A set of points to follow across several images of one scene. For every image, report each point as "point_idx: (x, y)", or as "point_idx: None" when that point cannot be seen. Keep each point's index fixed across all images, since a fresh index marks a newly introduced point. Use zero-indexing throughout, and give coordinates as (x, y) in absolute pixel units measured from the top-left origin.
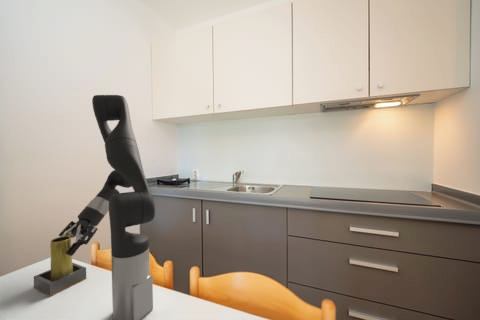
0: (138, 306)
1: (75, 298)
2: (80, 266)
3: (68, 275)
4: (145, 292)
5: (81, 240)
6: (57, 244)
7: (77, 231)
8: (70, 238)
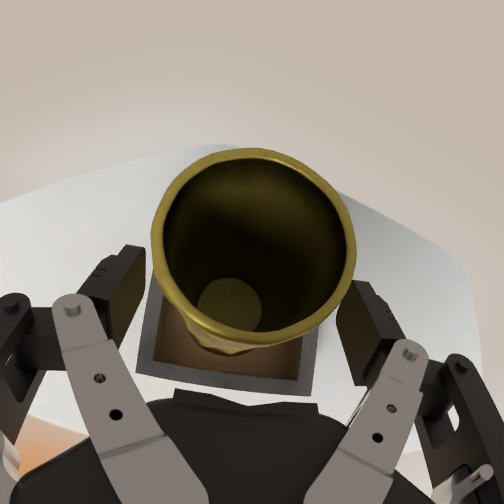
0: None
1: (70, 250)
2: (180, 375)
3: (151, 284)
4: None
5: (6, 300)
6: (195, 177)
7: (129, 400)
8: (196, 323)
